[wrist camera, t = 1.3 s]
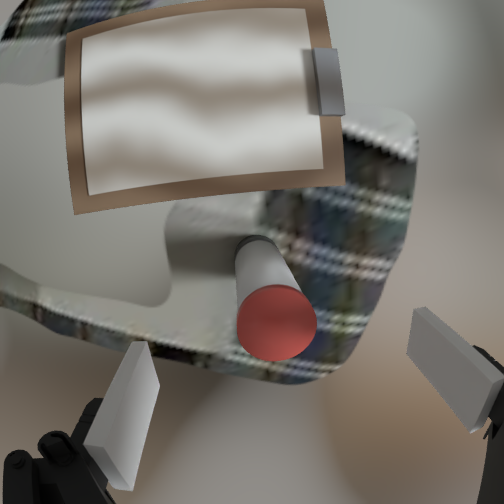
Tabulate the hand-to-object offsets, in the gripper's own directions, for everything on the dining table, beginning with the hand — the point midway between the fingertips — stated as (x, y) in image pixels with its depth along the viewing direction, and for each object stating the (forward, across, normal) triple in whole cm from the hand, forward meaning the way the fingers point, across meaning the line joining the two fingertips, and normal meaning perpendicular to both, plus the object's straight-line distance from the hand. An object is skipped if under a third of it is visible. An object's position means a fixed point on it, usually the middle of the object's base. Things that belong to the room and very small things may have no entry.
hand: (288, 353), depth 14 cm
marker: (+15, 0, 0) cm, 15 cm away
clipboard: (+15, -4, +15) cm, 22 cm away
